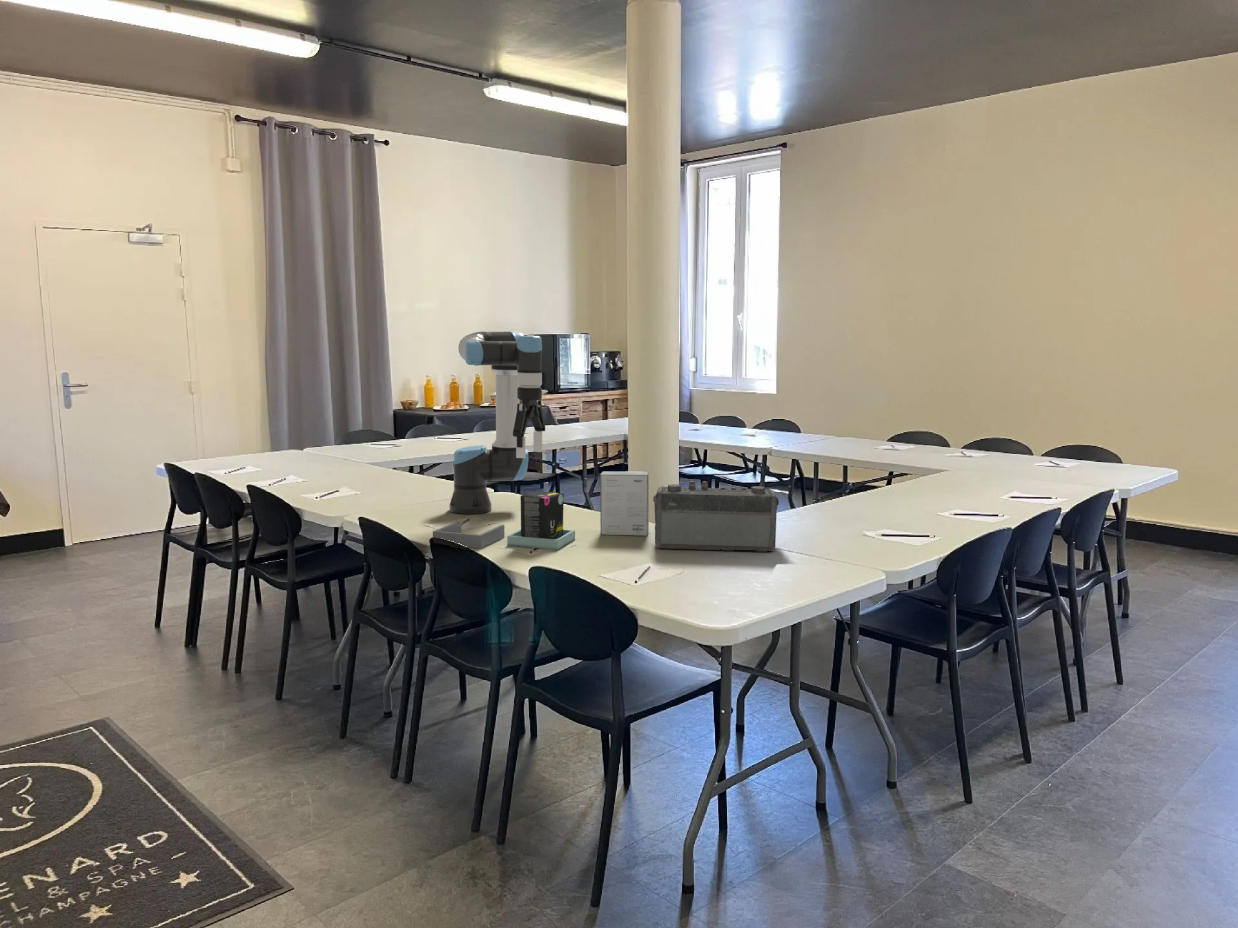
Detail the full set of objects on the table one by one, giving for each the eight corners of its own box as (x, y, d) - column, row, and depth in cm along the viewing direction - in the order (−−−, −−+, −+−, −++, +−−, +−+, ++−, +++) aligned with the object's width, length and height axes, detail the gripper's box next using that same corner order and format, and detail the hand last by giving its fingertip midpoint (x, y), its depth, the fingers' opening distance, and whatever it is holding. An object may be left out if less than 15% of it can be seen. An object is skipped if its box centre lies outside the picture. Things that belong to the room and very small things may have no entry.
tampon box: (544, 545, 269) (544, 498, 267) (519, 542, 274) (519, 495, 272) (564, 538, 279) (564, 492, 277) (539, 535, 283) (539, 490, 281)
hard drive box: (649, 531, 294) (649, 471, 291) (647, 536, 286) (648, 475, 283) (602, 529, 295) (602, 470, 292) (599, 534, 288) (599, 473, 285)
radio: (651, 550, 268) (652, 484, 266) (654, 539, 283) (655, 477, 280) (778, 553, 265) (780, 487, 262) (774, 542, 279) (776, 480, 277)
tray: (526, 535, 285) (526, 526, 285) (575, 539, 280) (575, 530, 280) (507, 545, 272) (507, 535, 271) (557, 550, 267) (557, 540, 266)
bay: (458, 533, 287) (457, 521, 287) (504, 537, 282) (504, 525, 282) (432, 544, 272) (432, 531, 272) (481, 548, 267) (481, 535, 267)
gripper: (533, 383, 286) (533, 448, 290) (501, 388, 263) (501, 459, 266) (555, 384, 284) (555, 450, 288) (524, 389, 261) (524, 461, 264)
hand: (529, 454), depth 277 cm, fingers open, 13 cm apart
